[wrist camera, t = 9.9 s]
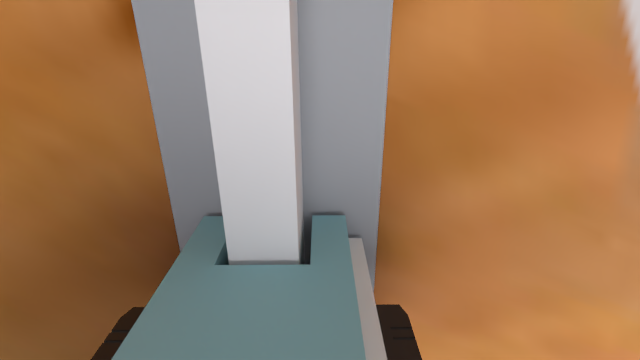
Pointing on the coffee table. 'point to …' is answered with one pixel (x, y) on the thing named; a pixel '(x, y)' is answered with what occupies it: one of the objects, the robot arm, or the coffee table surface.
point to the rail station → (269, 117)
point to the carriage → (252, 304)
